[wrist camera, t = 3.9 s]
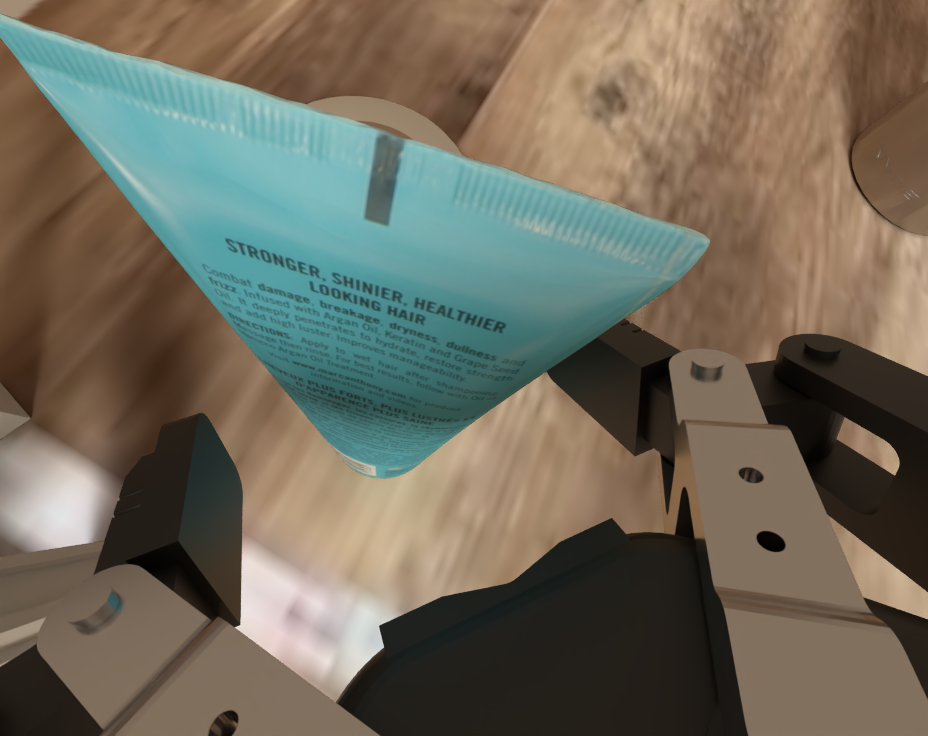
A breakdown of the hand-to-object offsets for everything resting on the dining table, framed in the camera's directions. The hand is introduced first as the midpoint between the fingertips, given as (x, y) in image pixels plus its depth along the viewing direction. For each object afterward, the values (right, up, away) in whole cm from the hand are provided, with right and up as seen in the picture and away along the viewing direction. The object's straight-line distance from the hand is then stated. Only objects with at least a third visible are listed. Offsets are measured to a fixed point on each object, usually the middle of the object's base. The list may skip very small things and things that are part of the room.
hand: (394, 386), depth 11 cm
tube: (-2, -2, +12) cm, 12 cm away
